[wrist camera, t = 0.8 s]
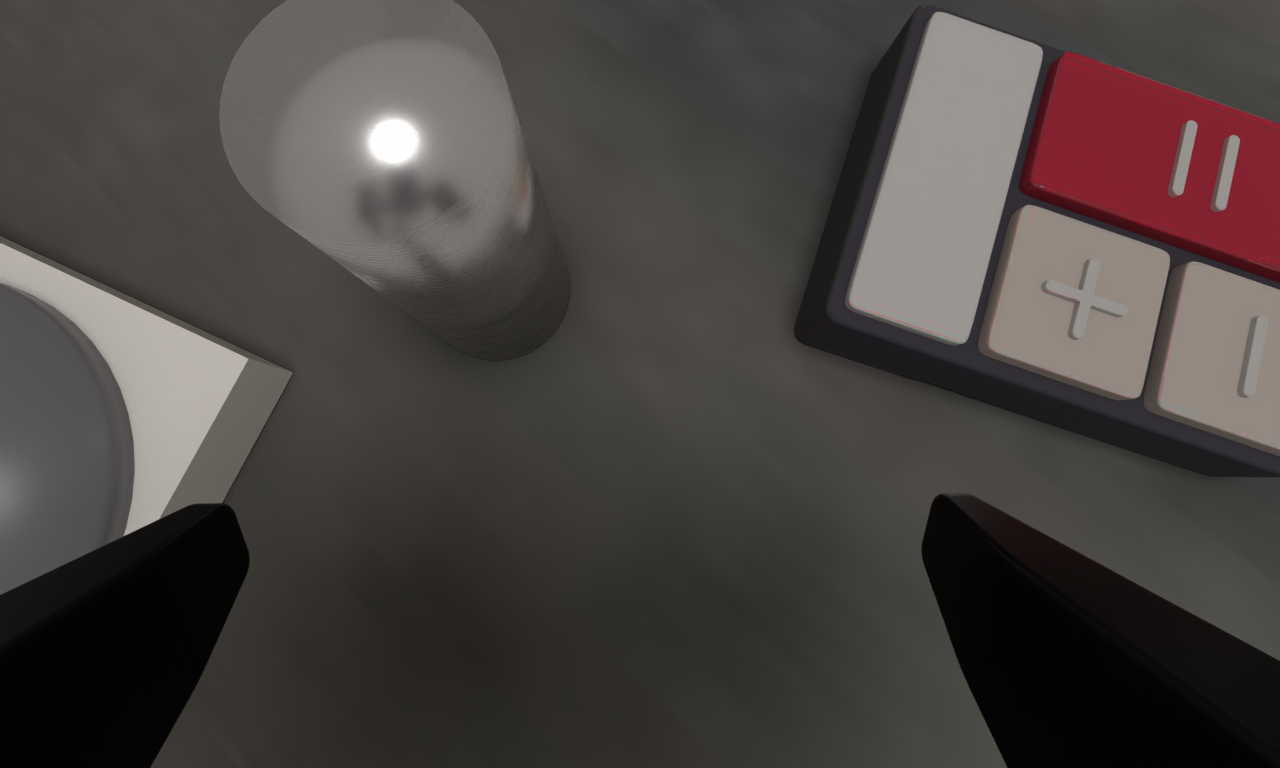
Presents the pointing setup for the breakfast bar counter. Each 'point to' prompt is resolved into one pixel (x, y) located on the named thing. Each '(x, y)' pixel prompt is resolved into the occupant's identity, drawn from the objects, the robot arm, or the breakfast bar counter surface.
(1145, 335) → the calculator
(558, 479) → the breakfast bar counter surface
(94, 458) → the kitchen scale
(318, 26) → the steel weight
